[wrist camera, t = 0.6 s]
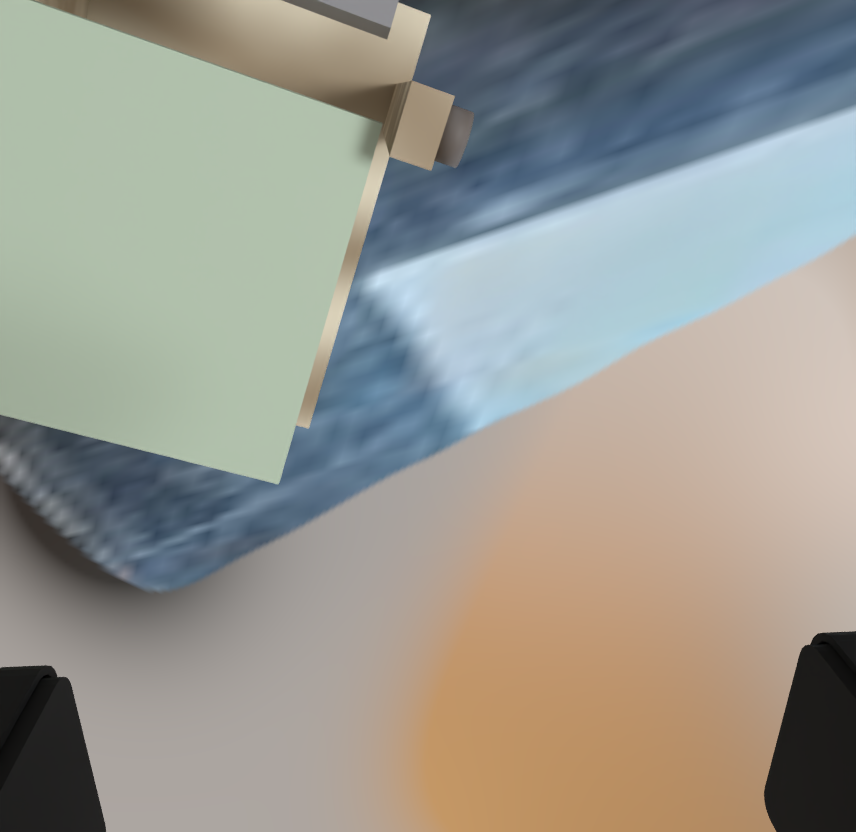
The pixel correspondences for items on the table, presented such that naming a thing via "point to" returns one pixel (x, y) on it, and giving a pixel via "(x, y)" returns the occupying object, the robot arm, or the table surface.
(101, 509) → the table surface
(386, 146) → the frame
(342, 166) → the trapdoor
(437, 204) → the table surface
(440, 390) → the table surface
